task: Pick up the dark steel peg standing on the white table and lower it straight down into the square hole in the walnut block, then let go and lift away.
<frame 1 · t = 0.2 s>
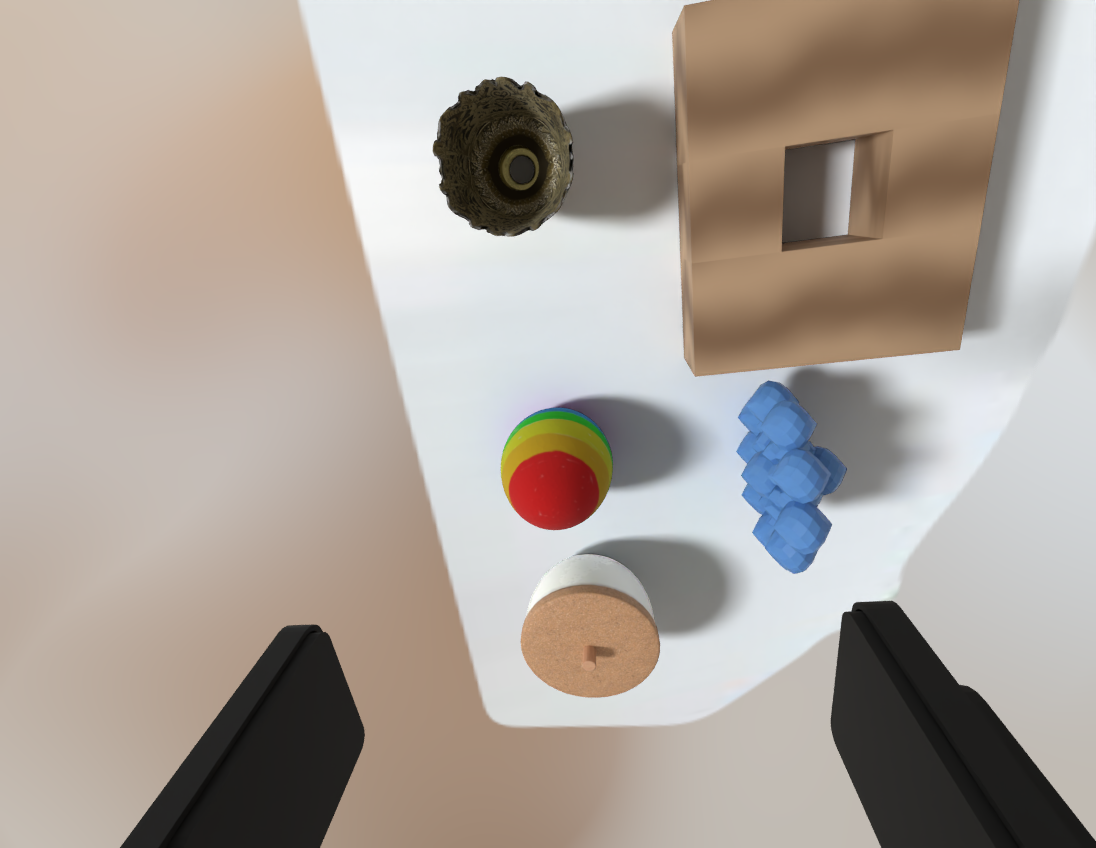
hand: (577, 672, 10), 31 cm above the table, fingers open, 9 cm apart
grapes: (765, 435, 40), on the table
cup: (522, 169, 34), on the table
lidded jar: (590, 580, 47), on the table
decorative egg: (560, 441, 42), on the table
walnut block: (805, 194, 34), on the table
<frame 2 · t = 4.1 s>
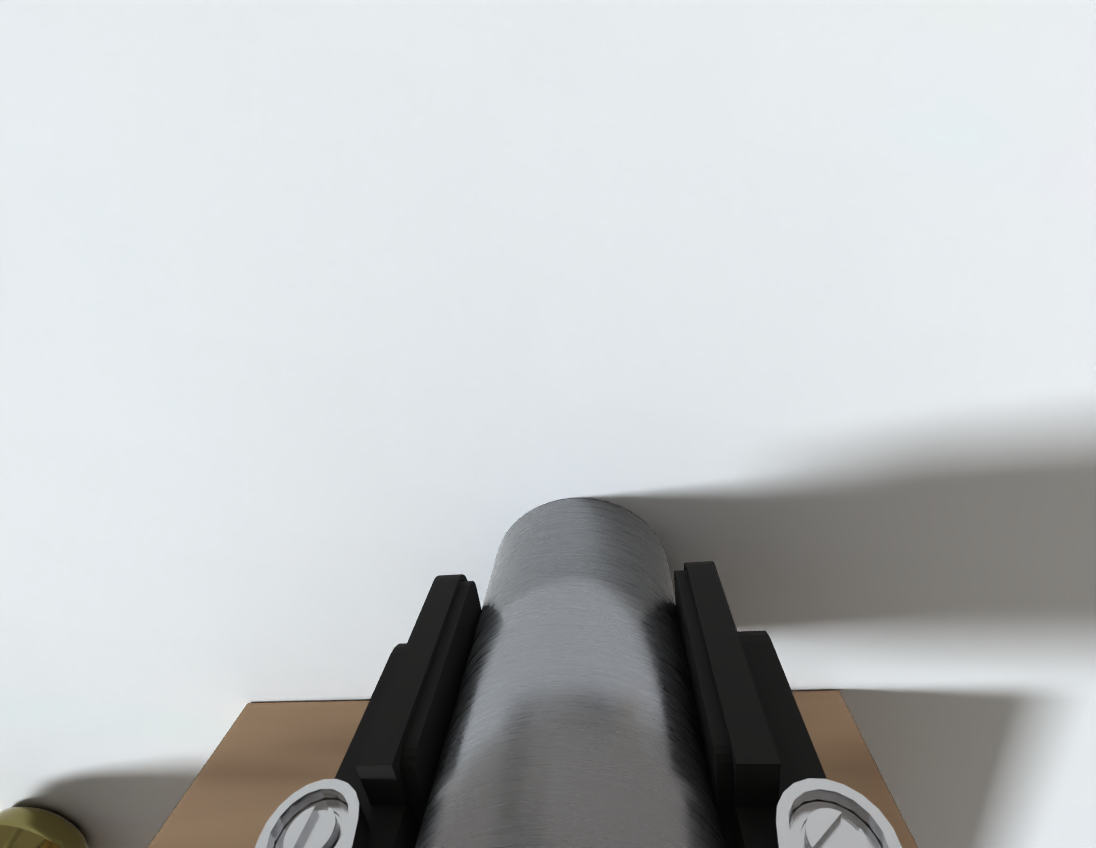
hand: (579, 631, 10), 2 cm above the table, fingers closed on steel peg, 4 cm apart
cup: (53, 823, 19), on the table
steel peg: (581, 572, 12), on the table, touching gripper
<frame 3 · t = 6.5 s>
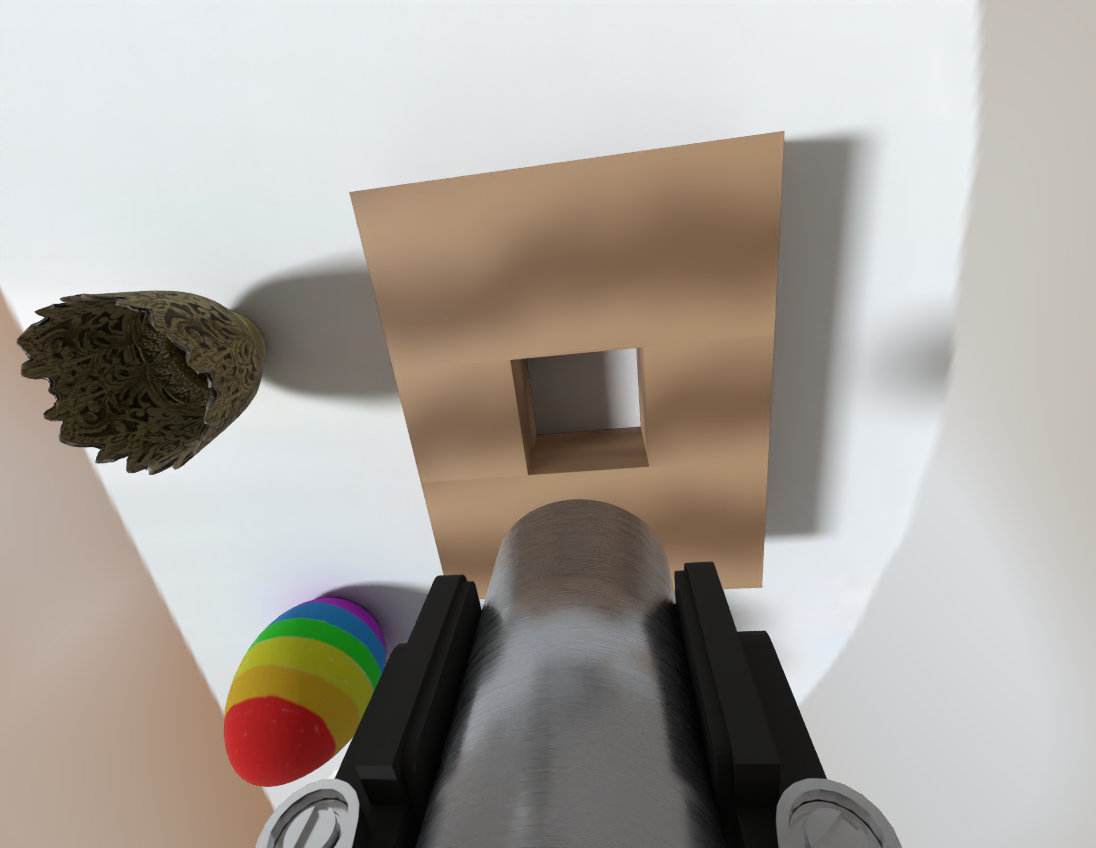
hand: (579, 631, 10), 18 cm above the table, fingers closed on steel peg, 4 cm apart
cup: (240, 340, 28), on the table
decorative egg: (342, 625, 36), on the table
steel peg: (581, 573, 12), point 16 cm above the table, touching gripper
walnut block: (583, 382, 27), on the table
when the fingers open (5 cm above the table, at t = 9.1 s): steel peg drops 3 cm, resting in walnut block.
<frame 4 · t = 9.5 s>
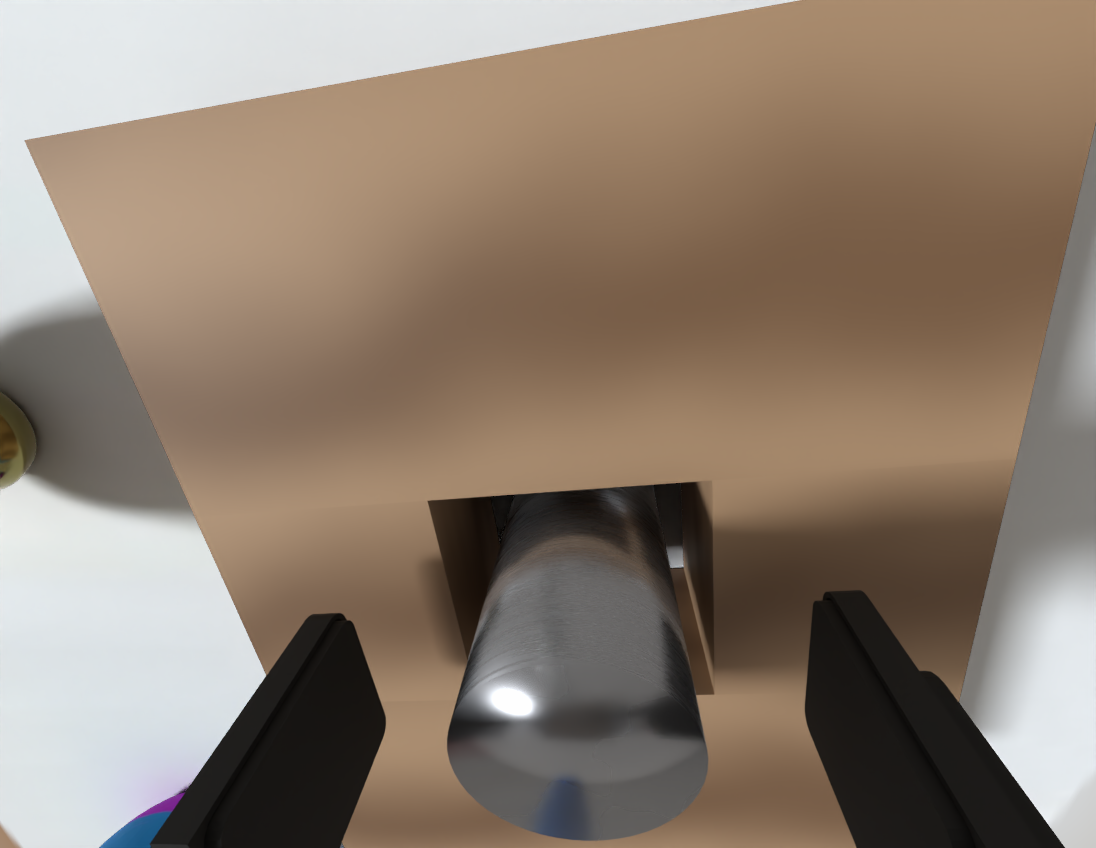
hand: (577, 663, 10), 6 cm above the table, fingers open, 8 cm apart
decorative egg: (228, 822, 24), on the table
steel peg: (584, 494, 15), resting in walnut block
walnut block: (584, 496, 15), on the table
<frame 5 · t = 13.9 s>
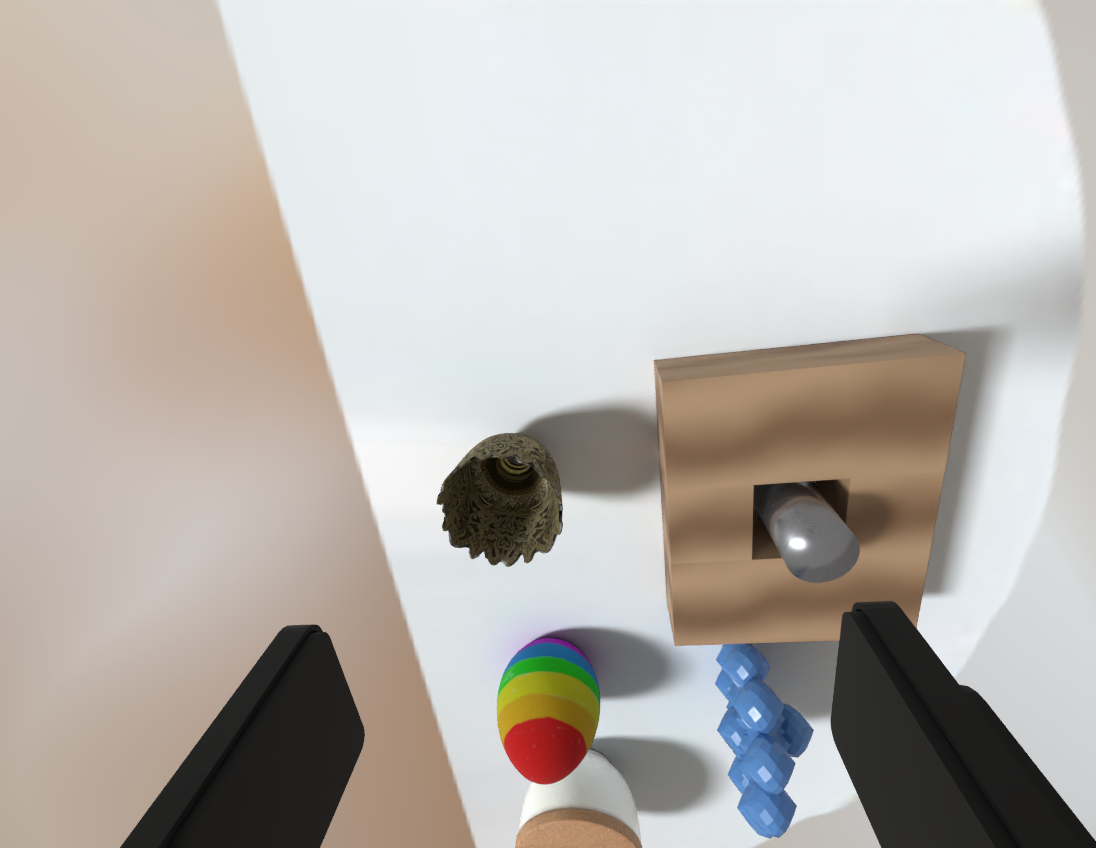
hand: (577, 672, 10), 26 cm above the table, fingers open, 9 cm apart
grapes: (742, 662, 44), on the table
cup: (518, 453, 38), on the table
lidded jar: (580, 766, 50), on the table
decorative egg: (552, 659, 45), on the table
steel peg: (776, 484, 37), resting in walnut block
walnut block: (776, 485, 37), on the table
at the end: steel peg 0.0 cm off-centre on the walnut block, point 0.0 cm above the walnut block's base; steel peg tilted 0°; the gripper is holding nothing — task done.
